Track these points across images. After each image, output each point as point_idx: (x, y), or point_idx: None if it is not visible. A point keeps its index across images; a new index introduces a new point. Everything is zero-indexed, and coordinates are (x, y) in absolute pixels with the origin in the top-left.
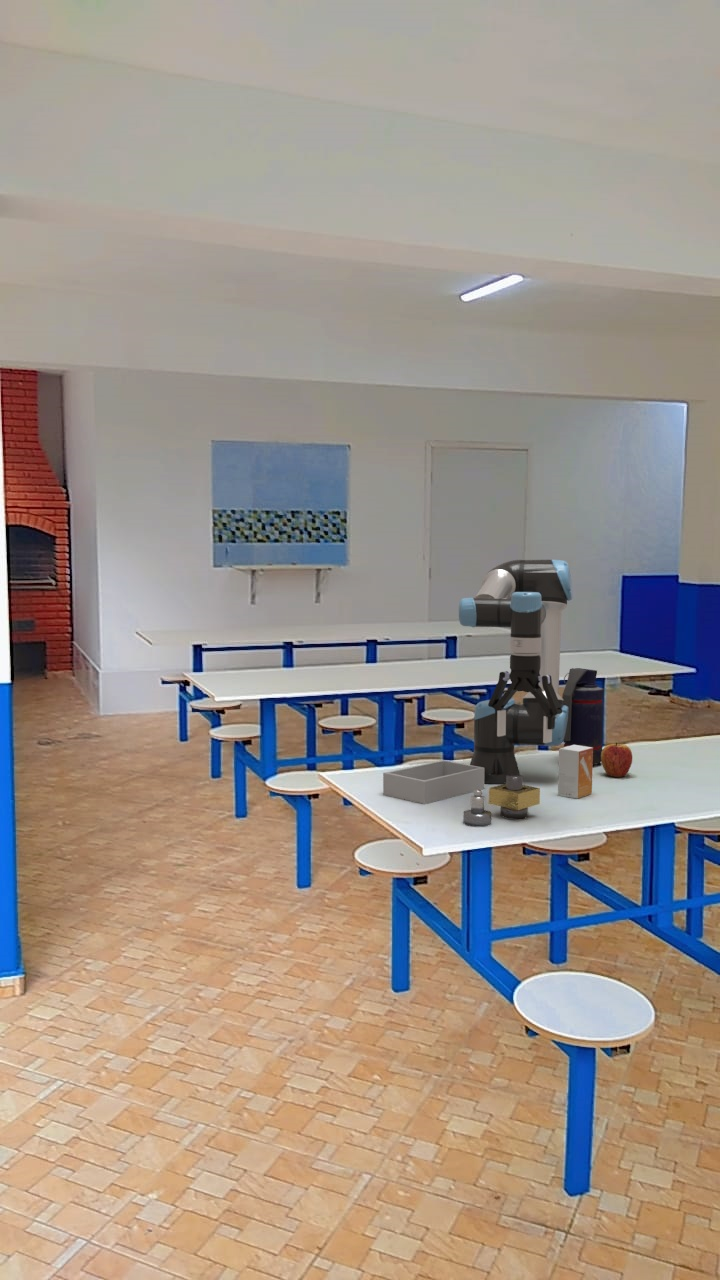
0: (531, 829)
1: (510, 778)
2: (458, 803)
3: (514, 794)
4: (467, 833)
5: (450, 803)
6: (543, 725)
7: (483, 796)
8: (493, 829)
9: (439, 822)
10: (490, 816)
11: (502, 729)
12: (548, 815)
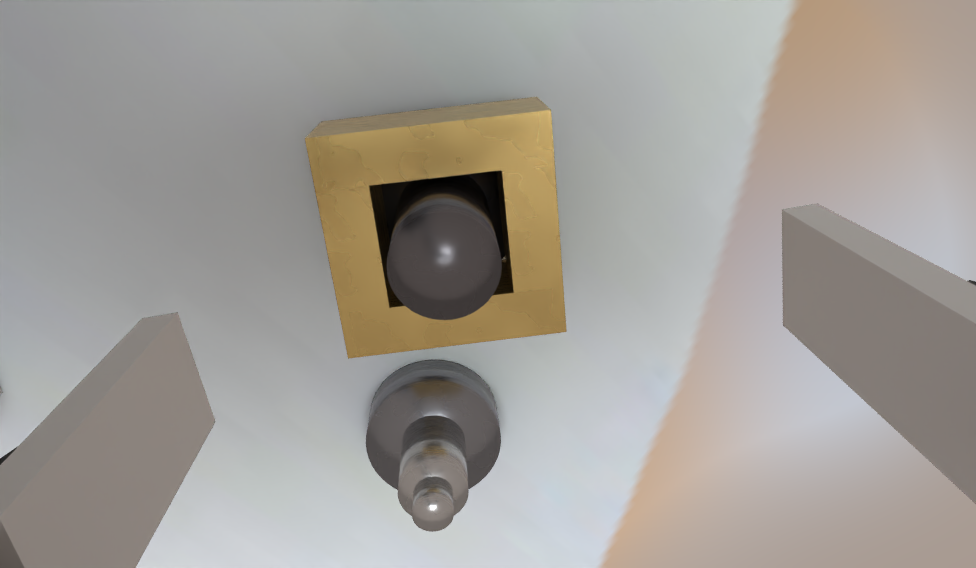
0: (664, 307)
1: (457, 315)
2: (69, 245)
3: (539, 331)
4: (526, 537)
5: (49, 279)
6: (895, 429)
7: (449, 469)
8: (552, 429)
9: (330, 524)
10: (494, 413)
11: (171, 411)
12: (553, 39)
